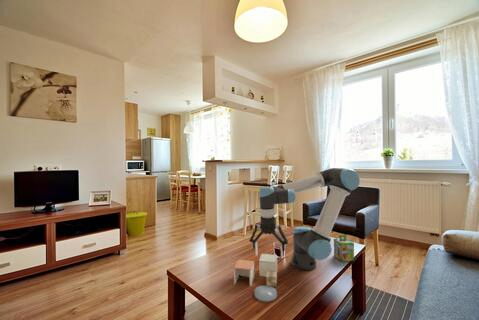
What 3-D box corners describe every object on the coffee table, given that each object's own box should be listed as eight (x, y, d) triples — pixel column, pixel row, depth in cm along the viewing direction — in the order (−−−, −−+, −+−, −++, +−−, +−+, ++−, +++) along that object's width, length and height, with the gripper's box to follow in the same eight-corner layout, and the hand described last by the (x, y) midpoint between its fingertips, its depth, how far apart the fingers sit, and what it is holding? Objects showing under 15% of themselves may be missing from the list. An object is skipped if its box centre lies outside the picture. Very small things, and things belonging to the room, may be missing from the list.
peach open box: (254, 276, 120) (253, 261, 120) (251, 285, 111) (250, 269, 111) (238, 274, 122) (238, 259, 122) (234, 283, 114) (233, 267, 114)
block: (277, 281, 115) (276, 272, 115) (276, 286, 110) (275, 277, 110) (267, 280, 116) (267, 271, 116) (266, 285, 111) (266, 276, 111)
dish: (277, 289, 108) (277, 286, 108) (276, 303, 97) (275, 300, 97) (256, 286, 111) (256, 284, 111) (252, 299, 100) (252, 297, 100)
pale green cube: (277, 269, 127) (276, 255, 127) (275, 277, 118) (275, 262, 118) (262, 268, 130) (261, 253, 130) (259, 275, 121) (259, 260, 121)
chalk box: (341, 262, 135) (340, 238, 135) (333, 255, 144) (332, 233, 144) (354, 261, 136) (354, 237, 136) (346, 254, 145) (345, 233, 145)
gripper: (291, 214, 114) (293, 254, 114) (246, 213, 121) (248, 251, 121) (291, 218, 107) (292, 261, 107) (243, 217, 114) (244, 256, 113)
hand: (269, 255), depth 114 cm, fingers open, 13 cm apart
